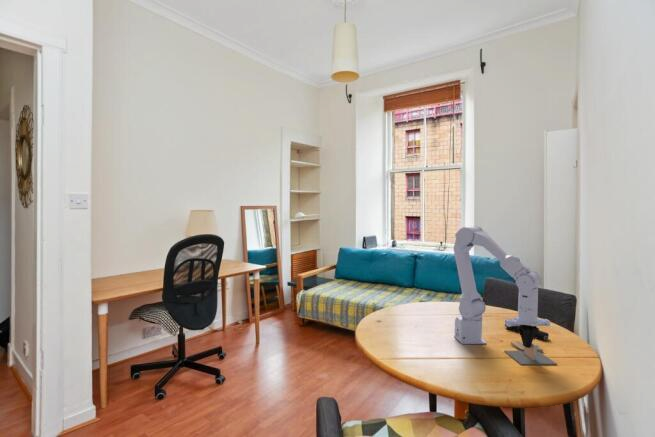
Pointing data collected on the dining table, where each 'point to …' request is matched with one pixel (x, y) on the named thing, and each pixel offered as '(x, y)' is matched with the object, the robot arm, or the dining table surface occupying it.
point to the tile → (531, 351)
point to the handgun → (539, 335)
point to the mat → (525, 360)
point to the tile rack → (521, 347)
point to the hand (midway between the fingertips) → (526, 346)
